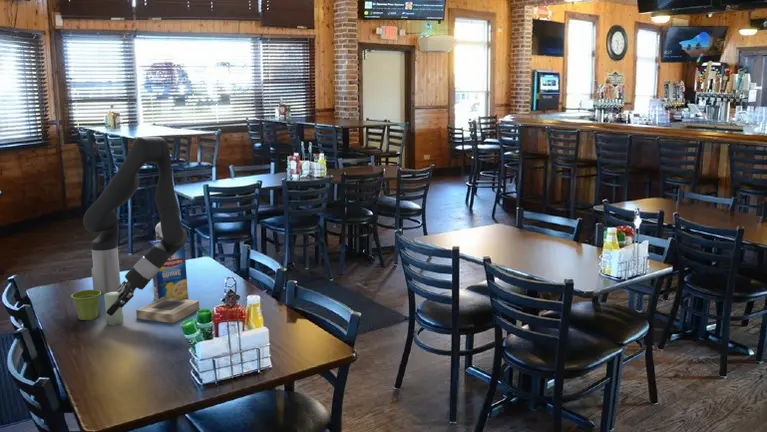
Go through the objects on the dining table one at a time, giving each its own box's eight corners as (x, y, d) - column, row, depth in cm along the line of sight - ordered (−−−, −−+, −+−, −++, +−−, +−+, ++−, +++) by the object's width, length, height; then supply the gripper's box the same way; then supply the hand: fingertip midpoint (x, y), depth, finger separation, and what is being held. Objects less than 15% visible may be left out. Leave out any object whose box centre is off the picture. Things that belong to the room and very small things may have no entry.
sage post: (103, 324, 226) (100, 295, 224) (114, 319, 231) (111, 291, 229) (115, 325, 224) (113, 297, 222) (126, 320, 229) (124, 292, 227)
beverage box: (188, 297, 253) (184, 240, 249) (158, 303, 247) (154, 245, 243) (182, 293, 259) (178, 237, 254) (153, 298, 253) (149, 241, 248)
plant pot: (108, 317, 233) (105, 293, 231) (80, 324, 226) (78, 299, 224) (96, 311, 239) (93, 287, 237) (69, 318, 232) (66, 294, 230)
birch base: (136, 318, 231) (136, 309, 231) (164, 304, 245) (163, 296, 244) (173, 323, 226) (172, 314, 226) (199, 308, 240) (198, 300, 240)
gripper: (131, 261, 233) (97, 299, 231) (136, 271, 221) (100, 311, 218) (148, 273, 237) (115, 311, 234) (154, 284, 224) (118, 324, 221)
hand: (108, 311), depth 226 cm, fingers closed on sage post, 5 cm apart
